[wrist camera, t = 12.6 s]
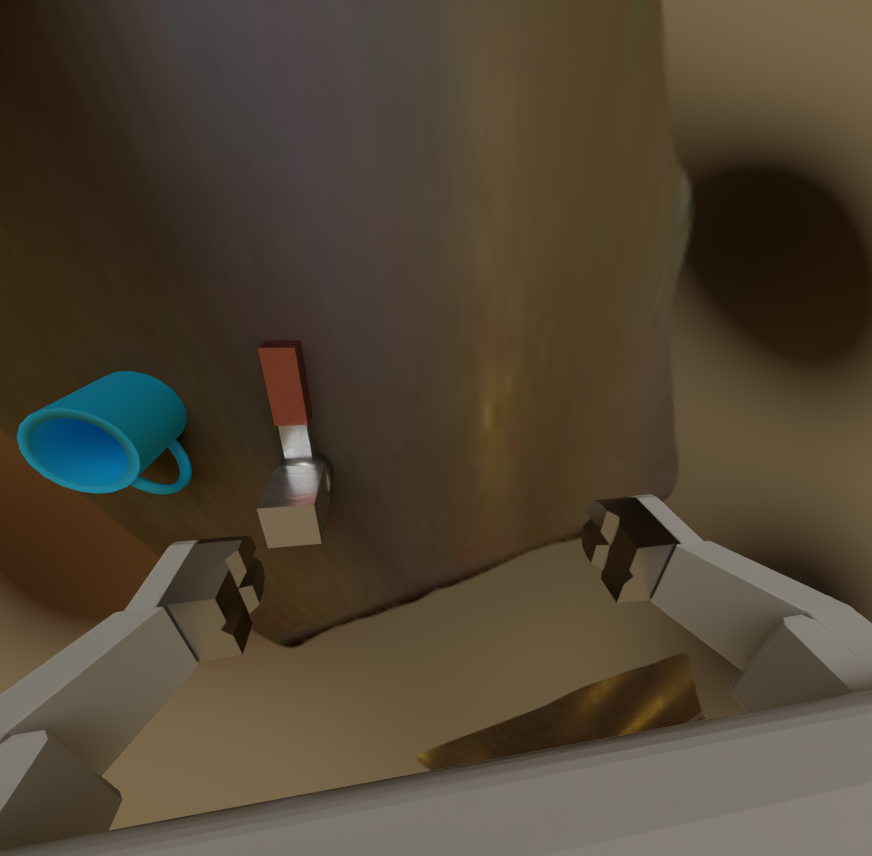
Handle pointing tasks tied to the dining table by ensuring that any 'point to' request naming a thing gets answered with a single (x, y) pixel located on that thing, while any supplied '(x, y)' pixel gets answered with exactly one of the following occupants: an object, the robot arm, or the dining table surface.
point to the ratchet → (291, 403)
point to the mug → (108, 435)
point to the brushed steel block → (295, 506)
